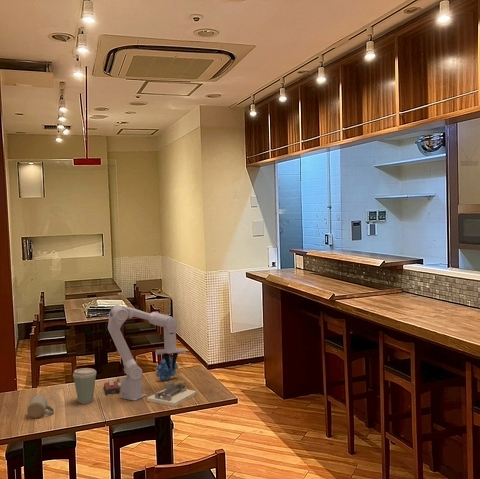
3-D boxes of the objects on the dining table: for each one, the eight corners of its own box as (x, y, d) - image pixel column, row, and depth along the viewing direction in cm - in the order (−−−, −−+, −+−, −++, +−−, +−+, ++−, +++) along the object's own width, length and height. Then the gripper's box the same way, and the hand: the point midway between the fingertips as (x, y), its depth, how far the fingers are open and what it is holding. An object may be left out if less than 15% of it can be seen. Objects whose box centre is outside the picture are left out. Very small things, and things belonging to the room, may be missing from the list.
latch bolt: (175, 384, 244) (175, 382, 244) (179, 382, 247) (178, 380, 247) (182, 385, 242) (181, 383, 242) (185, 383, 245) (185, 381, 245)
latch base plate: (147, 401, 237) (146, 391, 236) (170, 389, 251) (169, 380, 251) (174, 406, 228) (174, 397, 228) (196, 394, 243) (196, 385, 243)
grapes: (175, 376, 272) (174, 353, 272) (179, 379, 266) (178, 356, 265) (154, 379, 267) (153, 356, 267) (157, 383, 261) (156, 360, 261)
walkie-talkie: (124, 394, 248) (120, 381, 267) (123, 385, 248) (119, 373, 267) (105, 396, 245) (102, 384, 264) (105, 387, 245) (102, 375, 264)
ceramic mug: (26, 420, 219) (26, 402, 219) (29, 413, 227) (29, 396, 227) (53, 417, 222) (52, 399, 221) (55, 410, 230) (54, 393, 229)
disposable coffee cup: (88, 395, 246) (86, 365, 246) (103, 399, 240) (101, 368, 239) (69, 402, 238) (67, 371, 237) (84, 407, 232) (82, 374, 231)
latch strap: (165, 397, 232) (165, 394, 232) (158, 396, 234) (158, 393, 234) (185, 387, 245) (184, 384, 245) (178, 386, 247) (178, 383, 247)
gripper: (153, 343, 246) (154, 371, 247) (183, 342, 246) (184, 370, 246) (156, 339, 253) (157, 366, 254) (185, 339, 253) (187, 366, 253)
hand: (171, 368), depth 251 cm, fingers closed
